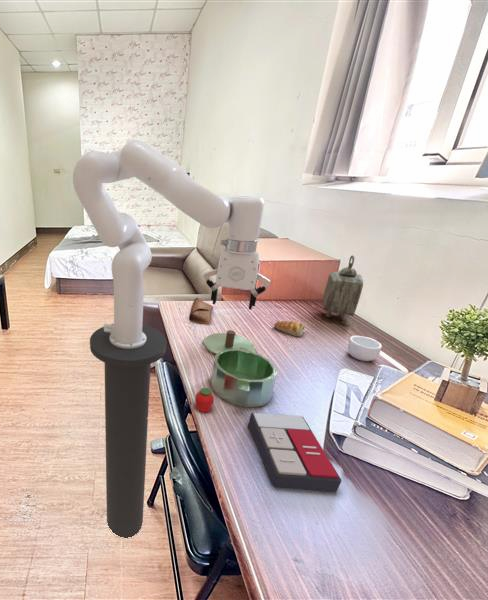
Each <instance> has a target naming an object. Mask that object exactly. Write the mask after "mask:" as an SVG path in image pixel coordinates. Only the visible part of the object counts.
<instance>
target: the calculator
mask: <svg viewBox="0 0 488 600" xmlns="http://www.w3.org/2000/svg"><path fill="white" fill-rule="evenodd" d="M247 426H248V429H249V432H250V434H251V436H252V439H254V441H255V443H256V446H257V449H258V451H259V454H260V456H261V458H262V462H263V464H264V467H265V470H266V472H267V474H268V477H269V480H270V482H271V484H272V486H273V487H274V488H284V489H297V490H307V491H308V490H309V491H318V492H319V491H321V492H332V493H337V492H338V490H339V488H340V485H341V484H342V478H341V477H340V475H339V473H338V472H337V470H336V468H335V467H334V465H333V463H332V461H331V460H330V459H329V457H328V455H327V454H326V451H325V450H324V449H323V447H322V445H321V443H320V442H319V440H318V438H317V437H316V436H315V433H314V432H313V430H312V429H311V428H310V426H309V424H308V422H307V421H306V419H305V418H304V416H303V415H292V414H290V415H289V414H275V413H263V412H262V413H261V412H260V413H259V412H251V413H250V416H249V419H248V425H247Z"/></svg>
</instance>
